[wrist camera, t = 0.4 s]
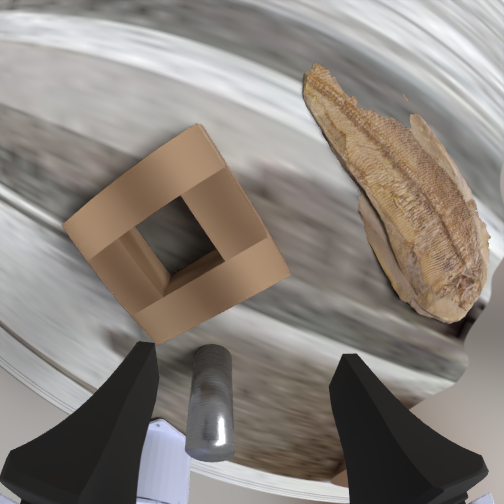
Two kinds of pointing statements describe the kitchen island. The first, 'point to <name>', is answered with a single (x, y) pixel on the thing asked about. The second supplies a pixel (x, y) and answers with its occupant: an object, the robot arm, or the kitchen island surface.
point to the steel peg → (211, 406)
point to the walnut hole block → (210, 218)
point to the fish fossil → (407, 201)
